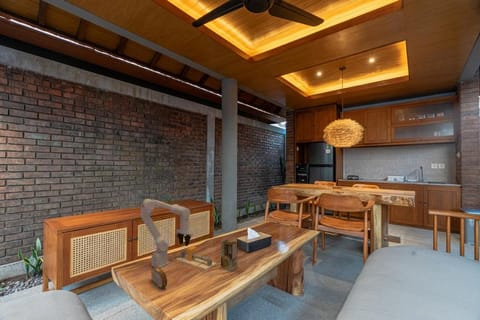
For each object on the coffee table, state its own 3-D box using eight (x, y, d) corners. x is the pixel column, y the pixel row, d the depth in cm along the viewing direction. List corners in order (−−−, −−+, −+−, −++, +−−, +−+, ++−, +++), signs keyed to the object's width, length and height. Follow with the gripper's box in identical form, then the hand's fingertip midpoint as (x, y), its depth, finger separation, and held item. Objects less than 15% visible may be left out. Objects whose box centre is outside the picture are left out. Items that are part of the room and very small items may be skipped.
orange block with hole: (195, 257, 151) (196, 247, 151) (190, 260, 147) (191, 249, 147) (191, 256, 153) (191, 246, 153) (186, 258, 149) (186, 248, 149)
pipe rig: (216, 264, 145) (216, 256, 145) (206, 270, 136) (206, 261, 136) (186, 255, 159) (186, 247, 159) (175, 260, 150) (176, 252, 151)
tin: (167, 289, 115) (167, 273, 115) (161, 291, 113) (162, 275, 113) (155, 278, 126) (156, 263, 126) (150, 280, 124) (150, 265, 124)
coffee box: (237, 267, 141) (238, 242, 141) (232, 271, 135) (232, 245, 136) (225, 264, 146) (226, 239, 146) (220, 267, 140) (220, 242, 141)
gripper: (196, 225, 154) (195, 245, 153) (181, 222, 161) (181, 241, 161) (189, 227, 148) (188, 248, 147) (174, 224, 155) (173, 244, 155)
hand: (184, 244), depth 154 cm, fingers open, 5 cm apart
